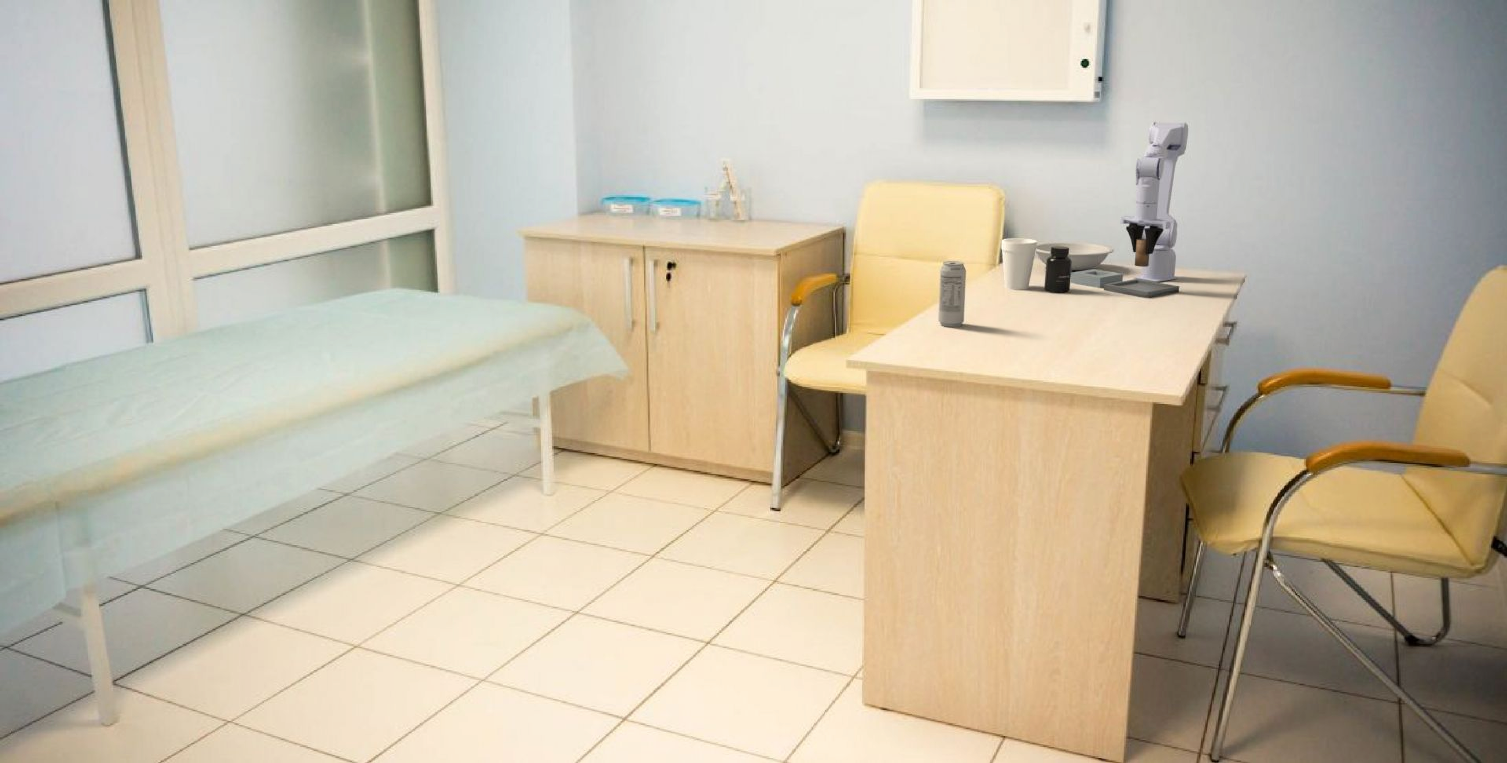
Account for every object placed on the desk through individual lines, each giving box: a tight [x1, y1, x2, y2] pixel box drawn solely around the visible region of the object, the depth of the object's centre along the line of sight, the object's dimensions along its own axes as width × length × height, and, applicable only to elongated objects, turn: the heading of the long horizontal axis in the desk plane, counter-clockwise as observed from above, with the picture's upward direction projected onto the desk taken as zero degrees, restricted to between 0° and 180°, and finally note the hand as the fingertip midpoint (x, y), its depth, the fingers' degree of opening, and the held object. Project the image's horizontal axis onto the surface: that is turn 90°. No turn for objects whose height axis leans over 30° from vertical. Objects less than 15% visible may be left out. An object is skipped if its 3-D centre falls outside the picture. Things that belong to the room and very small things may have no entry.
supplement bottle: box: [1043, 246, 1072, 294], centre depth 337 cm, size 7×7×12 cm
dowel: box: [1134, 239, 1149, 268], centre depth 336 cm, size 4×4×7 cm
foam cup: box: [1000, 237, 1038, 291], centre depth 342 cm, size 10×9×13 cm
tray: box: [1103, 278, 1180, 299], centre depth 338 cm, size 14×14×2 cm
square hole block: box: [1070, 268, 1124, 289], centre depth 350 cm, size 10×10×3 cm
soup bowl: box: [1035, 241, 1115, 272], centre depth 371 cm, size 24×24×7 cm
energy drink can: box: [938, 260, 967, 328], centre depth 296 cm, size 6×6×15 cm
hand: (1142, 252), depth 336 cm, fingers closed on dowel, 4 cm apart
